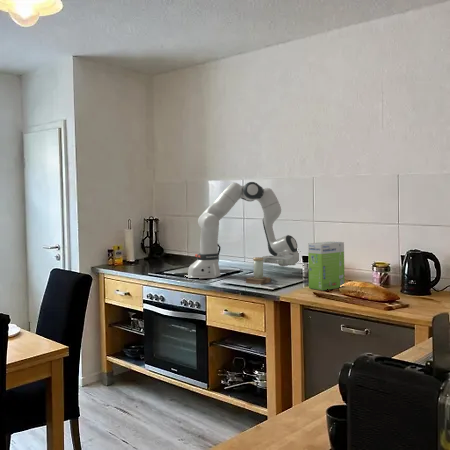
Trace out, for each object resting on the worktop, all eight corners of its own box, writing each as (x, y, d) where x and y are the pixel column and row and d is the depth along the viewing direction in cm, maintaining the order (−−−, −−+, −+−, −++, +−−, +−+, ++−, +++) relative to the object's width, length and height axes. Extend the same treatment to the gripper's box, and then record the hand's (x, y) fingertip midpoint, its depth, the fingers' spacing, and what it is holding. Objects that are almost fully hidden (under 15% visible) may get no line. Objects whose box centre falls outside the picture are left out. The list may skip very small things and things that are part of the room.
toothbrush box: (330, 284, 283) (330, 240, 281) (345, 287, 274) (345, 242, 273) (307, 288, 272) (307, 243, 271) (322, 291, 264) (322, 244, 262)
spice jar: (255, 279, 290) (255, 258, 289) (251, 277, 295) (251, 257, 294) (265, 278, 292) (264, 258, 291) (261, 276, 297) (260, 256, 296)
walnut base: (260, 284, 287) (260, 280, 286) (246, 282, 293) (246, 278, 293) (270, 282, 294) (270, 277, 294) (256, 280, 301) (256, 276, 301)
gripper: (269, 252, 319) (256, 255, 308) (297, 254, 306) (284, 257, 295) (269, 262, 319) (256, 265, 309) (297, 265, 306) (284, 268, 296)
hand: (270, 261), depth 302 cm, fingers open, 8 cm apart
